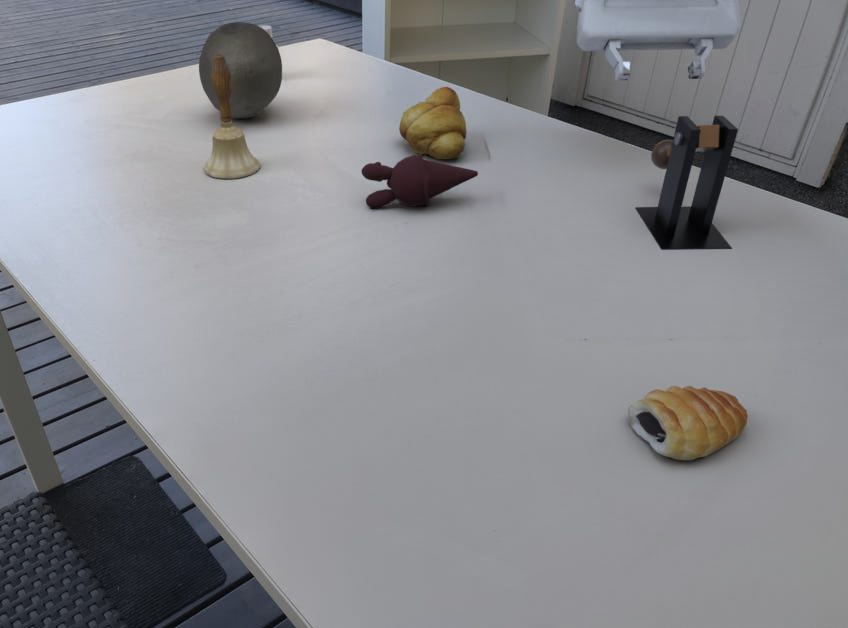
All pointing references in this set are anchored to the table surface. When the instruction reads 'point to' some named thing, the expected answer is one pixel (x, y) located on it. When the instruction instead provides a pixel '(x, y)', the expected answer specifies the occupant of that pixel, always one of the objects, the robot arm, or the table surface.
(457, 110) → the bread roll
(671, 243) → the bracket
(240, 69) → the grey round ball
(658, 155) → the lever
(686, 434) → the pastry
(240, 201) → the table surface
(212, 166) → the hand bell
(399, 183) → the icecream
